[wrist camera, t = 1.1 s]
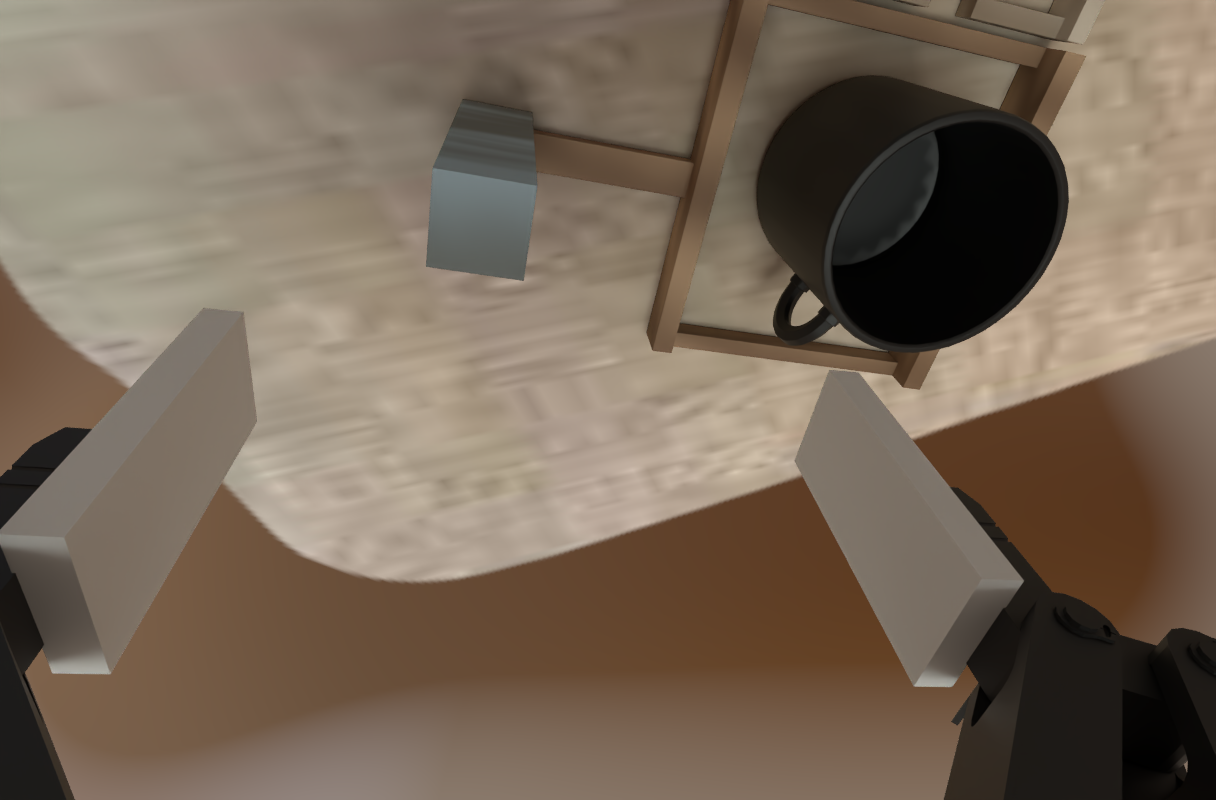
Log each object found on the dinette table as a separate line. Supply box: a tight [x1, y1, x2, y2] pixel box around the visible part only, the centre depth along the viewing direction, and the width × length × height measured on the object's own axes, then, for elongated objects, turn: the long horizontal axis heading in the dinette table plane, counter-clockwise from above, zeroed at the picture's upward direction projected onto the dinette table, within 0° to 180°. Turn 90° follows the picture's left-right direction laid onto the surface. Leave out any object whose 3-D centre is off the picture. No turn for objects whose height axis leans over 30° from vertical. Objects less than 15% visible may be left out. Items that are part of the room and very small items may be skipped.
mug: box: [757, 76, 1069, 353], centre depth 30 cm, size 9×12×9 cm
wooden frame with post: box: [426, 0, 1086, 390], centre depth 28 cm, size 17×26×12 cm, turn 79°
